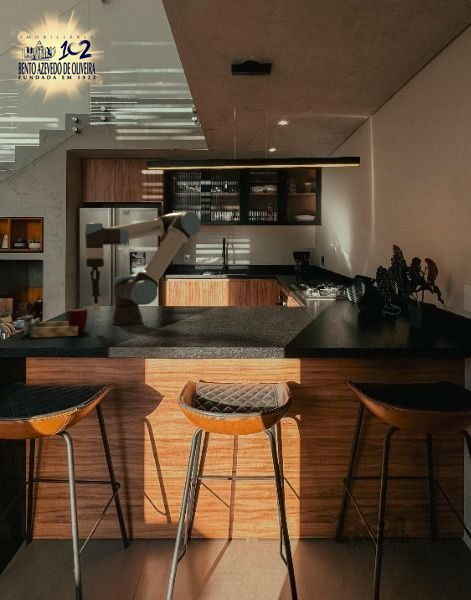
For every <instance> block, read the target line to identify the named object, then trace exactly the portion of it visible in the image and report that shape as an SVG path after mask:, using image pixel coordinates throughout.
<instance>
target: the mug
mask: <svg viewBox="0 0 471 600" xmlns="http://www.w3.org/2000/svg"><path fill="white" fill-rule="evenodd" d="M67 312H68V313H67V314H68V315H67V316H68V320H67V321H68V325H69V326H78V334H79V333H83V332H85V329H86V326H87V322H88V321H87V319H88V310H87V309H86V308H73V309H72V308H71V309H68V310H67Z"/></svg>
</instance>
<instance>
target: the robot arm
mask: <svg viewBox="0 0 471 600" xmlns="http://www.w3.org/2000/svg"><path fill="white" fill-rule="evenodd" d="M201 226H202V225H201V220H200V218H199V216H198V214H197V213H195V212H193V211H189V210H185V211H178V212H172V213H167V214H165V215H161V216H157V217H154V219H150V220H145V221H141V222H134V223H129V224H123V225H116V226H111V227H104V224H103V223H101V222H87V223H86V224H85V228H84V234H85V238H84V239H85V250H84V253H85V257H86V259H85V262H86V263H85V266H86V267H87V268H91V270H90V276H91V277H90V280H91V288H92V294H90V295H91V297H92V310H93V311H92V312H100V309H101V308H100V297H101V295H102V294H100V276H101V271H100V270H99V268H104V266H105V264H104V263H105V262H104V254H105V253H104V251H105V250H104V246H106V245H107V246H108V245H109V246H110V245H111V246H112V245H113V246H115V245H116V246H117V245H119V246H121V245H122V246H124V245H126V244H128V242H129V241H131V240H135V239H136V240H137V239H140V238H141V239H142V238H145V237H151V236H158V237H161V236H165V238H164V239H163V241H162V242H161V243H160V245H159V247H158V248H157V249H156V252H155V253H154V254H153V256H152V257H151V258H150V260H149V261H148V264H146V266H145V268H144V269H143V270H142V271H139V272H138V273H137V274H136V275H130V276H129V275H128V276H119V277H115V279H114V281H113V288H114V289H113V290H114V291H113V292H114V293H113V294H114V311H113V314H112V317H111V323H112V325H119V326H130V325H132V326H133V325H138V324H142V323H143V322H144V320H143V319H144V318H143V315H142V311H141V310H140V306H143V305H144V306H147V305H149V304H151V303H153V302H154V301H155V300H156V299H157V297H158V293H159V292H158V288H159V286H160V284H159V280H160V279H161V277H162V276H163V274H164V272H165V271H166V269H167V268H168V267H169V265H170V263H171V262H172V261H173V259H174V257H175V256H176V254H177V253H178V251H179V249H181V247H182V245H183V244H184V243H188V241H189V240H190V238H191V237H192V236H195V235H196V234H198V233H199V232H200V229H201Z"/></svg>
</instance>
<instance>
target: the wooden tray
mask: <svg viewBox="0 0 471 600" xmlns="http://www.w3.org/2000/svg"><path fill="white" fill-rule="evenodd" d="M29 336H30V338H31V337H34V338H52V337H53V338H54V337H72V336H75V337H76V336H79V333H78V326H69V325H68V320H67V321H65V320H64V321H62V320H61V321H45V322H44V321H42V322H41V319H40V317H36V318H35V319H34V320H32V322H31V323H30V335H29Z"/></svg>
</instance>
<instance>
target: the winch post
mask: <svg viewBox="0 0 471 600" xmlns="http://www.w3.org/2000/svg"><path fill="white" fill-rule="evenodd" d="M21 319H22V320H23V322H24V323H23V327H24V336H31V335H30V323H31V322H33V319H34V316H33V315H24V316H22V317H21Z"/></svg>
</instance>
